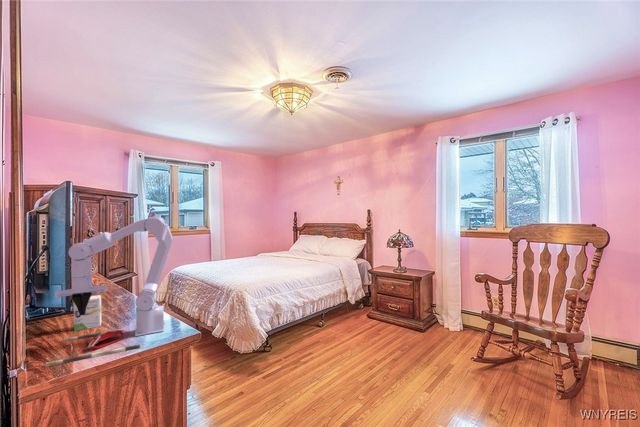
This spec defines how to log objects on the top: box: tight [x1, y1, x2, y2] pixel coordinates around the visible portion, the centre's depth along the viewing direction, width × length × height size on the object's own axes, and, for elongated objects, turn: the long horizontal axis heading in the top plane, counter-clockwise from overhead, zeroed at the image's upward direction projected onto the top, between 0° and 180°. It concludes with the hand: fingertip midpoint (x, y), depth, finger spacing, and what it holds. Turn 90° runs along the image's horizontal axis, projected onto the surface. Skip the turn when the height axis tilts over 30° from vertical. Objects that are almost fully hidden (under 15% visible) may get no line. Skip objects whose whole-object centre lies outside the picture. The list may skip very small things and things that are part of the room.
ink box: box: [73, 294, 102, 332], centre depth 120 cm, size 8×5×12 cm, turn 122°
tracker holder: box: [86, 329, 124, 350], centre depth 105 cm, size 12×4×10 cm
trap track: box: [44, 328, 141, 368], centre depth 104 cm, size 24×21×1 cm
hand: (82, 314), depth 107 cm, fingers closed
